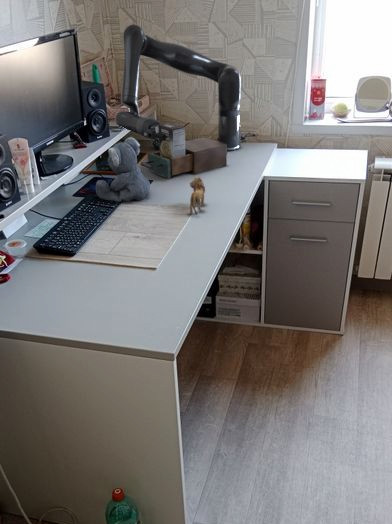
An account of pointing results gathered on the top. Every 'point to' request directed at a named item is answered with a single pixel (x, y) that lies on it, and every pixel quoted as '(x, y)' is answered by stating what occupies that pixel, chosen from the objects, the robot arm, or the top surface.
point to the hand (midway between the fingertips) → (172, 135)
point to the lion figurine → (197, 194)
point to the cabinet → (206, 154)
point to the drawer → (163, 164)
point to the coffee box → (172, 141)
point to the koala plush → (124, 174)
